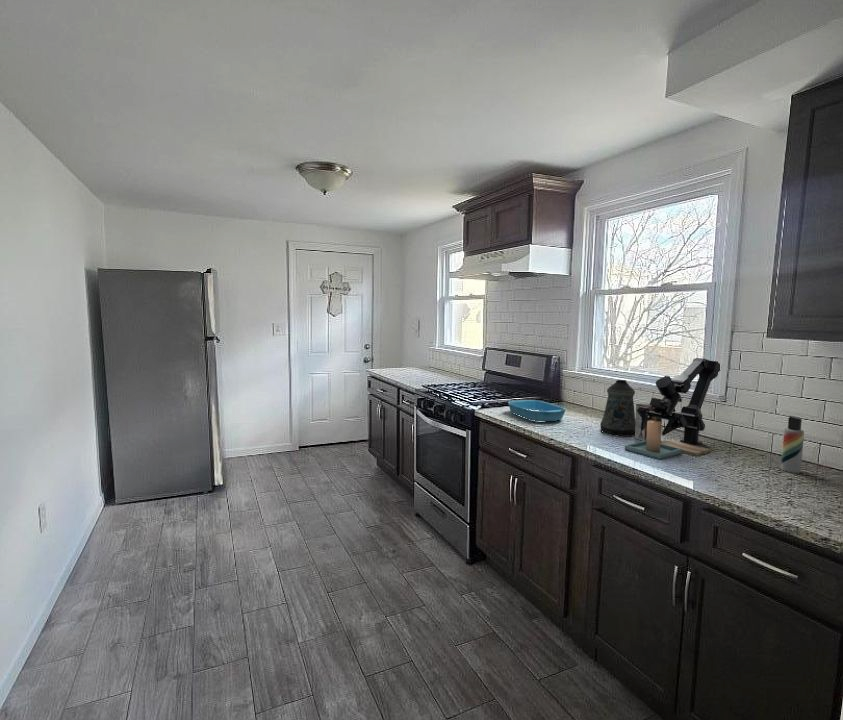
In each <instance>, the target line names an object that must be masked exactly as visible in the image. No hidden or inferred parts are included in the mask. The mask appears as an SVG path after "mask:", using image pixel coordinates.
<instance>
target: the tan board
mask: <svg viewBox="0 0 843 720" xmlns="http://www.w3.org/2000/svg"><path fill="white" fill-rule="evenodd" d="M660 444H663V445H667V446H672V447H676V448H680V449H682V452H681V454H687V455H691V456H694V457H698V456H701V455H705V453H706V454H708V452H709V453H711V452H712V449H711V448H709V447H708V448H707V447H701V446H698V445H696V444H690V443H686V442H681V441H677V440H672V439H669V440H664V441H661V442H660Z"/></svg>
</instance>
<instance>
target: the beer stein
mask: <svg viewBox="0 0 843 720" xmlns="http://www.w3.org/2000/svg"><path fill="white" fill-rule="evenodd" d="M606 392H607V400H606V403H605V408H604V412H603V417H602V419H601V421H600V424H599V425H600V431H601V432H602V431H603V432H605V433H608V434H607V435H609V434H611V435H610V436H614V435H618V436H617V437H632V435H634V436H635V423H636V411H635V404H634V396H635V393H636V390H635V389H634V388H633V387H632V386H630V384H629V383H628V382H627V380H626V379H617V380H616V381H615V382H614V383H613V384H611V385H610V386H609V387H608V388H607V389H606ZM603 432H602V433H603ZM605 433H604V434H605Z"/></svg>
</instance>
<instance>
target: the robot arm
mask: <svg viewBox="0 0 843 720" xmlns="http://www.w3.org/2000/svg"><path fill="white" fill-rule="evenodd" d="M718 362H719V361H716V360H709V359H706V358H704V357H703V358H702V357H701V358H699V357H696V358H693V359H692V362H691V363H690V364H689V365H688V366H687V367H686V368H685V369H684V370H683V371H682V372H681V373H680V374H678V375H676V376H673V377H670V375H664V377H661V378H659V379H657V380H656V381H655V386H656V388H657V389H658V391H659V394H661V396H663V397H662V398H656V397H651V399H650V402H649V403H650V406H653V410H655V412H651V411H650V410H649V408H646V407H639V408H638V410H637V412H638V413H639V415H640V417H641V418H642V421H641V431H643V430H644V429H645V427H646V426H647V421H649V420H650V419H651V418H652V417H657V418H661V419H662V420H666V421H667V424H666V426H665V427H664V429H663V430H662V431H661V436H665V435H667V434H669V433H670V432H672V431H675V430H676V429H677V430H678V429H681V428H683V439H679V440H680V441H679V442H682V443H686V444H690V445H698V443H699V444H702V443H703V441H701V440H700V437H699V436H700V432H704V430H705V428H706V424H705V423H704V421H703V414H702V410H701V409H702V406H703V403H704V402H705V399H706V396H707V393H708V390H709V387H710V384H711V382H712V381H713V380H714V379H717V377H718V375H719V374H718V372H719V371H721V370H720V364H721V363H720V362H719V363H718ZM719 373H720V372H719ZM697 376H698V379H697V382H696V384H695V387H694V389H693V391H692V395H691V398H690V401H689V402H688V405H686V406H684V405H683V406H682V407H681V410H680V412H676V411H677V410H676V407H677V405H678V403H682V402H683V399H682V396H681V395H680V394H688V392H689V390H690V389H691V387H692V385H691V383H692V381H694V379H695V378H696V377H697Z"/></svg>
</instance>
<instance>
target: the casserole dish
mask: <svg viewBox="0 0 843 720" xmlns="http://www.w3.org/2000/svg"><path fill="white" fill-rule="evenodd" d="M507 404H508V407H509V411H510V413H512V414H513V413H515V414H517V415H520V416H522V417H525V418H527V419H530V420H535V421H556V422H558V421H557V420H559V421H561V420H562V419H563V418H564V416H565V412H566V408H565V407H563V406H560V405H557V404H554V403H550V402H546V401H543V400H538V399H537V400H536V399H520V400H519V399H517V400H511V401H508V402H507ZM527 409H528V410H527ZM529 409H531V410H539V411H531V410H529Z"/></svg>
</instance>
